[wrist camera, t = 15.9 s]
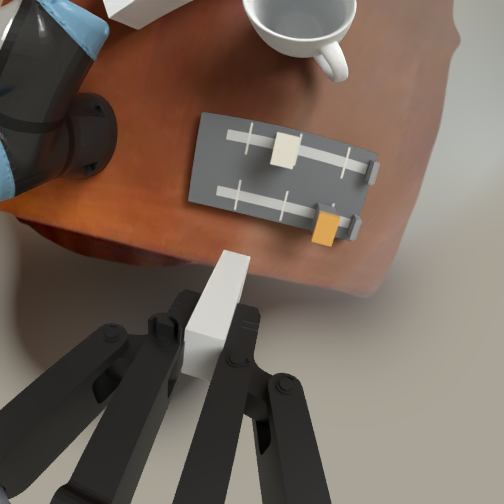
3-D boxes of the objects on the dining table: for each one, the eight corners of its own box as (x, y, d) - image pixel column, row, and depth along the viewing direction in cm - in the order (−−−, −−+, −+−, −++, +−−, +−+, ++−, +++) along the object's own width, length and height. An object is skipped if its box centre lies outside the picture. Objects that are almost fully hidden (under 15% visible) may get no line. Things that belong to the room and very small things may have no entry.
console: (192, 197, 43) (183, 205, 39) (206, 112, 37) (197, 111, 33) (348, 236, 42) (352, 247, 38) (374, 152, 36) (382, 156, 32)
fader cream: (273, 158, 36) (270, 164, 32) (279, 130, 34) (277, 132, 30) (293, 163, 36) (292, 169, 32) (299, 135, 34) (300, 137, 30)
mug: (369, 72, 31) (400, 53, 19) (300, 104, 35) (301, 95, 23) (311, -10, 26) (315, -55, 15) (244, 21, 30) (220, -16, 18)
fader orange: (310, 227, 40) (311, 241, 35) (317, 201, 38) (319, 213, 33) (327, 231, 39) (331, 246, 35) (335, 206, 38) (340, 218, 33)
